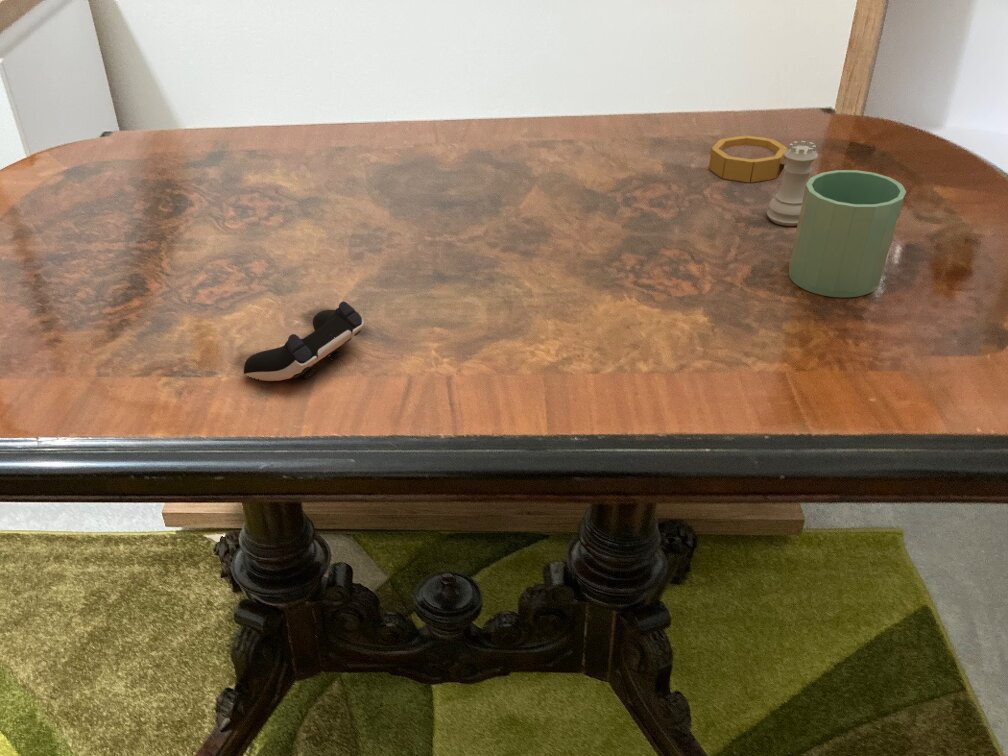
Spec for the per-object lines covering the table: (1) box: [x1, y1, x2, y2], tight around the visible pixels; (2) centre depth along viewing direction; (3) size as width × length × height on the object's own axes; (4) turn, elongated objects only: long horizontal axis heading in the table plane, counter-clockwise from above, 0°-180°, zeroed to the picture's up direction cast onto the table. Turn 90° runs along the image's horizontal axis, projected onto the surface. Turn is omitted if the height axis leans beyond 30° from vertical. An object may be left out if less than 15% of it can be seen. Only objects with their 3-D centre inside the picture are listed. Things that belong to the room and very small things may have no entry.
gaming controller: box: [243, 301, 364, 382], centre depth 81 cm, size 11×4×7 cm
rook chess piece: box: [766, 140, 819, 227], centre depth 97 cm, size 4×4×8 cm
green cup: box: [788, 169, 907, 299], centre depth 86 cm, size 8×8×9 cm
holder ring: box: [708, 135, 788, 184], centre depth 109 cm, size 8×8×2 cm
